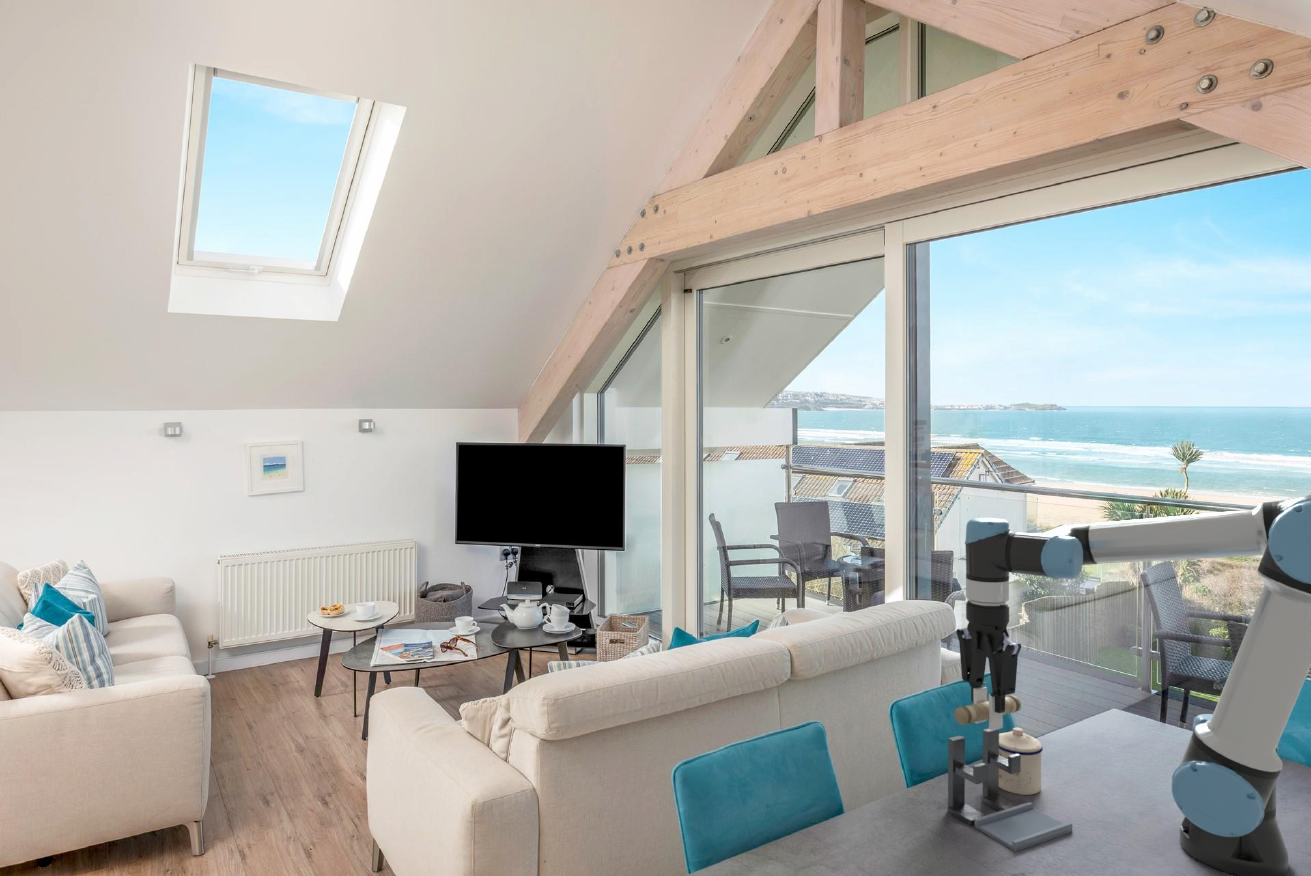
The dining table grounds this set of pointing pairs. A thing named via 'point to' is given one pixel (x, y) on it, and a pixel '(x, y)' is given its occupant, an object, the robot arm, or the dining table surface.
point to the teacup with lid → (1030, 762)
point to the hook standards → (978, 776)
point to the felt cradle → (1021, 826)
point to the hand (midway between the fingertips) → (988, 724)
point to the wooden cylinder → (984, 710)
